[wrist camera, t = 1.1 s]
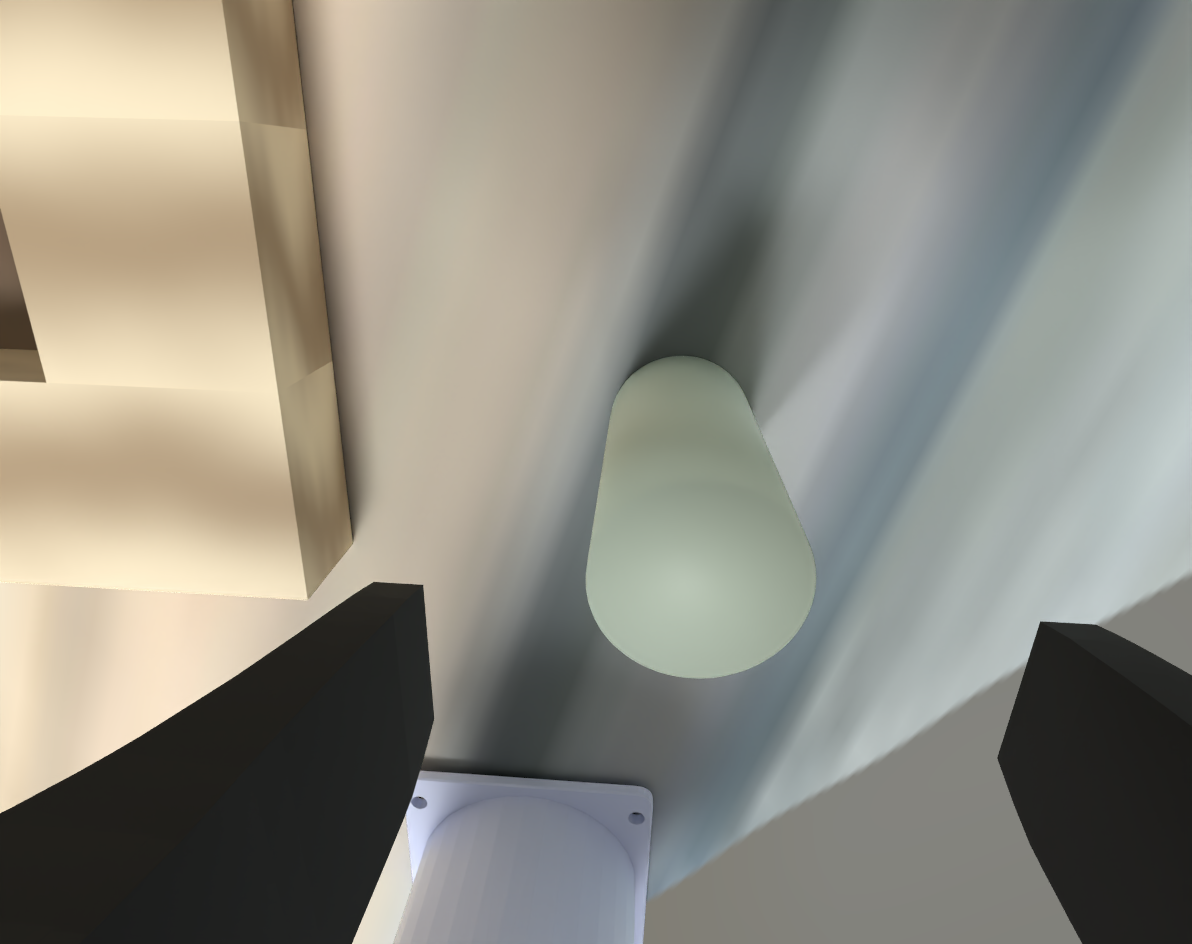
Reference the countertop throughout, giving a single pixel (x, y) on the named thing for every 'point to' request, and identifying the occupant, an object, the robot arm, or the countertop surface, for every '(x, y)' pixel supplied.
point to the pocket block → (162, 304)
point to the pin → (694, 528)
